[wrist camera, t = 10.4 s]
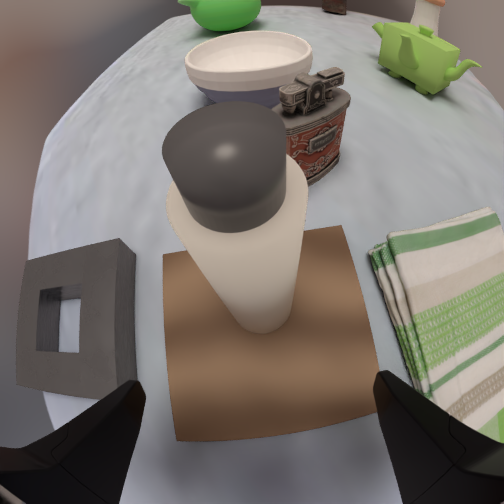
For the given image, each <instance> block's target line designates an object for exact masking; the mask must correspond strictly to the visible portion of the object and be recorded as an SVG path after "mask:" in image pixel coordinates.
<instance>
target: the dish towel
mask: <svg viewBox="0 0 504 504" xmlns="http://www.w3.org/2000/svg"><path fill="white" fill-rule="evenodd" d="M368 254H369V255H370V257H371V261H372V265H373V268H374V271H375V273H376V276H377V278H378V281H379V285H380V287H381V289H382V290H383V293H384V298H385V302H386V305H387V308H388V310H389V313H390V316H391V319H392V321H393V324H394V327H395V329H396V331H397V336H398V338H399V341H400V345H401V347H402V350H403V354H404V357H405V360H406V364H407V366H408V368H409V371H410V375H411V378H412V381H413V385H414V389H415V390H416V391H418V392H419V393H421V394H422V395H423V396H425V397H426V398H428V399H429V400H430V401H432V402H433V403H435V404H436V405H438V406H439V407H440V408H442V409H443V410H445V411H446V412H447V413H449V414H450V415H452V416H453V417H455V418H456V419H458V420H459V421H461V422H462V423H464V424H465V425H467V426H469V427H471V428H472V429H474V430H476V431H478V432H480V433H482V434H484V435H486V436H488V437H490V438H492V439H494V440H496V441H498V442H501V443H504V233H503V230H502V227H501V224H500V221H499V218H498V216H497V214H496V212H495V211H492V209H491V207H485V208H481V209H479V210H476V211H472V212H470V213H467V214H465V215H461V216H459V217H455V218H452V219H448V220H445V221H442V222H439V223H436V224H433V225H430V226H428V227H424V228H418V229H411V230H403V231H399V232H390V233H389V234H388V235H387V241H386V242H384V243H382V244H379V245H378V244H376V245H375V247H374V249H372V250H369V251H368Z"/></svg>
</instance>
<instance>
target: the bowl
mask: <svg viewBox="0 0 504 504" xmlns="http://www.w3.org/2000/svg"><path fill="white" fill-rule="evenodd" d="M312 60H313V56H312V48H311V46H310V44H309V43H308V42H306V41H305V40H304V39H302V38H299V37H297V36H294V35H291V34H287V33H282V32H274V31H245V32H237V33H231V34H227V35H223V36H219V37H216V38H213V39H210V40H207V41H205V42H203V43H201V44H199V45H197V46H196V47H194V48H193V49H192V50H190V51H189V53H188V54H187V55H186V57H185V67H186V71H187V74H188V76H189V79H190V80H191V81H192V83H193V84H195V85H196V86H197V88H198V89H199V90H200V91H202V92H204V93H205V94H206V96H207V97H208V98H209V99H211V100H213V101H214V102H216V103H221V102H228V101H245V102H252V103H256V104H260V105H263V106H265V107H267V108H269V109H272V108H274V107H275V106H277V105H278V104H280V103H281V102H280V98H279V88H280V87H282V86H285V85H287V84H290V83H292V82H293V81H294V79H295V77H296V76H297V75H298V74H300V73H306V74H308V73H309V72H310V69H311V66H312Z"/></svg>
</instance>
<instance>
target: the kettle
mask: <svg viewBox="0 0 504 504" xmlns="http://www.w3.org/2000/svg"><path fill="white" fill-rule="evenodd" d="M372 28H373V29H374V30H375V31H376V32H377V33H378V35H379V36H380V37H381V38H382V42H381V48H380V54H379V60H378V64H380V65H382V66H384V67H386V68H388V69H390V70H391V71H389V72H388V74H389V75H390V76H392V77H394V78H400V77H401V76H403V77H404V78H406V79H408V80H410V81H411V82H413V83H415V84H416V86H415V89H416V91H418V92H419V93H421V94H424V95H427V91H428V92H429V93H431V94H432V95H434V94H435V93H437V92H439V91H441V90H442V89H444V88H446V87H448V86H449V84H450V82H451V81H455V80H457V79H459V78H460V77H461V76H462V75H463V74H464V73H465V71H466V70H467V69H469V68H470V67H474V66H476V67H482V66H480V65H479V64H477V63H476V62H474V61H472V60H469V59H466V60H464V61H463V62H461V64H460V65H459V66H457V67H456V64H457V60H458V57H459V54H460V49H459V48H457V47H455V46H453V45H451V44H450V43H448V42H446V41H444V40H443V39H441V38H439V37H437V36H435V35H433V33H434V31H433V30H432V29H431V28H429V27H426V26H424V25H419V27H416V26H414V25H412V24H409V23H384V25H383V24H382V23H381V22H379V23H376V24H374V25H373V26H372Z"/></svg>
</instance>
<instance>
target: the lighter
mask: <svg viewBox="0 0 504 504" xmlns="http://www.w3.org/2000/svg"><path fill="white" fill-rule="evenodd" d="M344 75H345V73H344V72H343V70H342V69H340V68H337V67H333V68H329V69H326V70H323V71H320V72H317V74H314V75H311V76H310V75H308V74H306V73H300V74H298V75H297V76H296V77H295V79H294V81H293V82H292V83H290V84H287V85H285V86H282V87H280V88H279V98H280V102H281V103H280V104H278V105H277V106H275V107H274V108H272V109H271V110H273V111H274V112H276V113H277V114H278V115H279V116H280V118H281V119H282V120H283V122H284V124H285V127H286V154H287V155H289V156H290V157H291V158H292V159H294V160H295V161H296V163H297V164H298V165H299V166H300V168H301V169H302V171H303V173H304V175H305V177H306V180H307V184H308V186H310V185H312V184H313V183H315V182H317V181H319V180H320V179H321V178H322V177H324V176H325V175H326V174H327V173H329V172H330V171H331V170H332V169H333V167H334V166H335V165H336V164H337V163H338V161H339V158H340V151H339V147H340V142H341V137H342V132H343V126H344V121H345V115H346V109H347V108H348V107H349V105H350V99H351V97H350V95H349V93H348V92H346V91H345V90H343V89H340V88H337V87H338V86H340V85H343V83H344Z"/></svg>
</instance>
